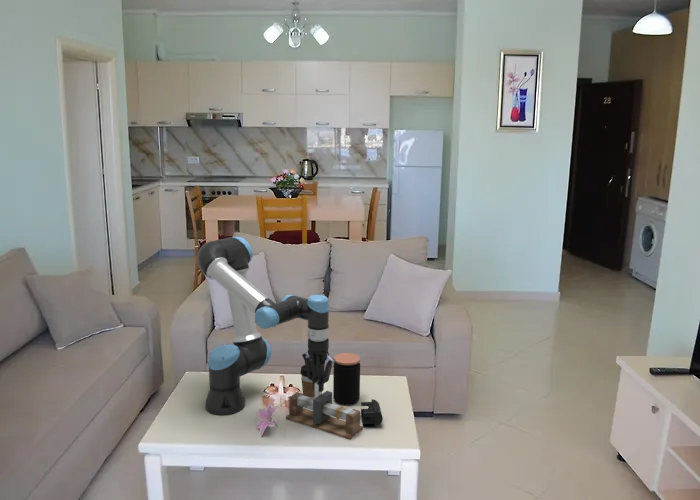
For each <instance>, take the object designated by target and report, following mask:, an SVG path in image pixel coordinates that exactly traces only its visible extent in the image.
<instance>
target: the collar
mask: <svg viewBox="0 0 700 500" xmlns="http://www.w3.org/2000/svg"><path fill="white" fill-rule="evenodd" d="M326 402H327V403H330V404H333V391H329V390H326V391H324V392H322V394H321V395H320V396H318V397H317V398H315V399H314V400H313V410H312V411H313V423H315V424H318V425H319V424H320V423H321V422H323V421H324V420H325V419H327V418H328V417H329V415H326V414H323V413H322V405H323V404H324V403H326Z"/></svg>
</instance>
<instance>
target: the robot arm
mask: <svg viewBox="0 0 700 500" xmlns="http://www.w3.org/2000/svg"><path fill="white" fill-rule="evenodd" d="M252 258H253V249H252V247H251V244H250V243H249V242H248V240H246V239H245V238H243V237H241V236H230V237H225V238H221V239H216V240H210V241H207V242H205V243H204V244H203V245H202V246H200V248H199V249H198V251H197V256H196V262H197V265H198V268H199V269H200V271H201V273H202V274H203V275H204V276H205V277H206V278H208V279H209V280H213V281H214V280H215V281H216V282H217V283H218V284H219V285H220V286H221V287H223V289H225V290H226V292H227V296H228V303H229V306H230V314H231V316H232V317H231V318H232V322H233V323H232V324H233V327H234V328H233V329H234V334H235V337H233V339H232V343H233V344H229V343H228V344H221V345H219V346H217V347H215V348H213V349H211V351H210V352H209V353H208V360H207V361H208V362H207V366H208V382H209V383H208V384H209V389H208V392H207V396H206V400H205V402H204V403H205V410H206V411H207V412H208V413H210V414H212V415H216V416H217V415H218V416H229V415H234V414H237V413H238V412H240V411H242V410H243V409H244V408H245V405H246V398H245V395H244V393H243V391H242V388H241V377H242V376H245V375H247V374H249V373H252V372H254V371H257V370H260V369H262V368H263V367H265V366H266V365H267V364H268V363H269V362H270V360H271V356H272V351H271V346H270V344H269V342H268V340H267V339H266V338H264V337H263V336H262V335H263V334H262V333H260V332H258V330H257V329H258V328H257V326H258V327H259V328H261V329H263V330H266V329H272V328H275V327H277V326H279V325H282V324H285V323H287V322H290V321H293V320H295V319H301V320H304V321H307V338H308V339H307V351H306V352H304V353H302V354H301V357H302V358H303V360H304V365H306V370H307V375H308V379H309V380H312V382H313V390H315V398H317V397H318V396H320V395H321V394H323V391H324V389H325V384H326V383H327V382H329V381H330V376H331V371H332V368H333V365H334V361H335V359H334V357H333V358H332V357H330V353H329V347H330V346H329V344H330V341H329V337H330V332H329V331H330V328H329V327H330V326H329V325H330V323H329V322H330V321H329V320H330V319H329V316H330V315H329V314H330V305H329V304H330V303H329V298H328V297H327V296H326V295H324V294H311V295H310V296H308V298H304V297H301V296H299V295H295V294H294V295H293V294H287V295H285V296H284V297H283V298H282V299H281V301H279V302H278V301H277V302H274V301H273V300H272V299H270V298H269V296H268V295H266V294H264V293H263V292H262V291H261V290H260V289H259V288H258V287H257V286H255V285H253V283H251V281H249V280H248V277H247V272H248V271H249V270H250V267H249V264H250V262H251V261H252ZM256 323H257V324H256Z"/></svg>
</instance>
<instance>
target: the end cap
mask: <svg viewBox="0 0 700 500" xmlns="http://www.w3.org/2000/svg"><path fill="white" fill-rule="evenodd" d="M360 406H361V407H368V408H360V421H361V426H363V429H370V428H371V429H372V428H373V429H374V428H377V427H379V426H380V425H381V424H382V423H383V419H384V416H383V414H382V413H383V412H382V410H381V407H380V403H379V402H378V400H376V399H371V401H361V402H360Z"/></svg>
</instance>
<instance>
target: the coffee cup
mask: <svg viewBox="0 0 700 500" xmlns="http://www.w3.org/2000/svg"><path fill="white" fill-rule="evenodd" d="M299 373H300V375H301V379H300V380H301V387H302V390H301V391H302V394H303V396H307V397H310V398H313V399H315V390H313V382H312V380H309V379H308V375H307V370H306V365H305V364H304V365H302V366H301V367H300V372H299Z"/></svg>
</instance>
